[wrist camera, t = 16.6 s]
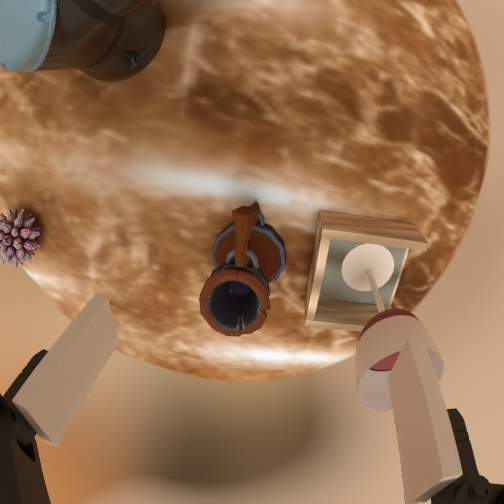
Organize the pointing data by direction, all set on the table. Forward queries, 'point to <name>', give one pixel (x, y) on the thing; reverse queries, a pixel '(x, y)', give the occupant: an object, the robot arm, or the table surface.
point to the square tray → (330, 264)
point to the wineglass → (381, 327)
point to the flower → (17, 237)
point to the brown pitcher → (242, 274)
